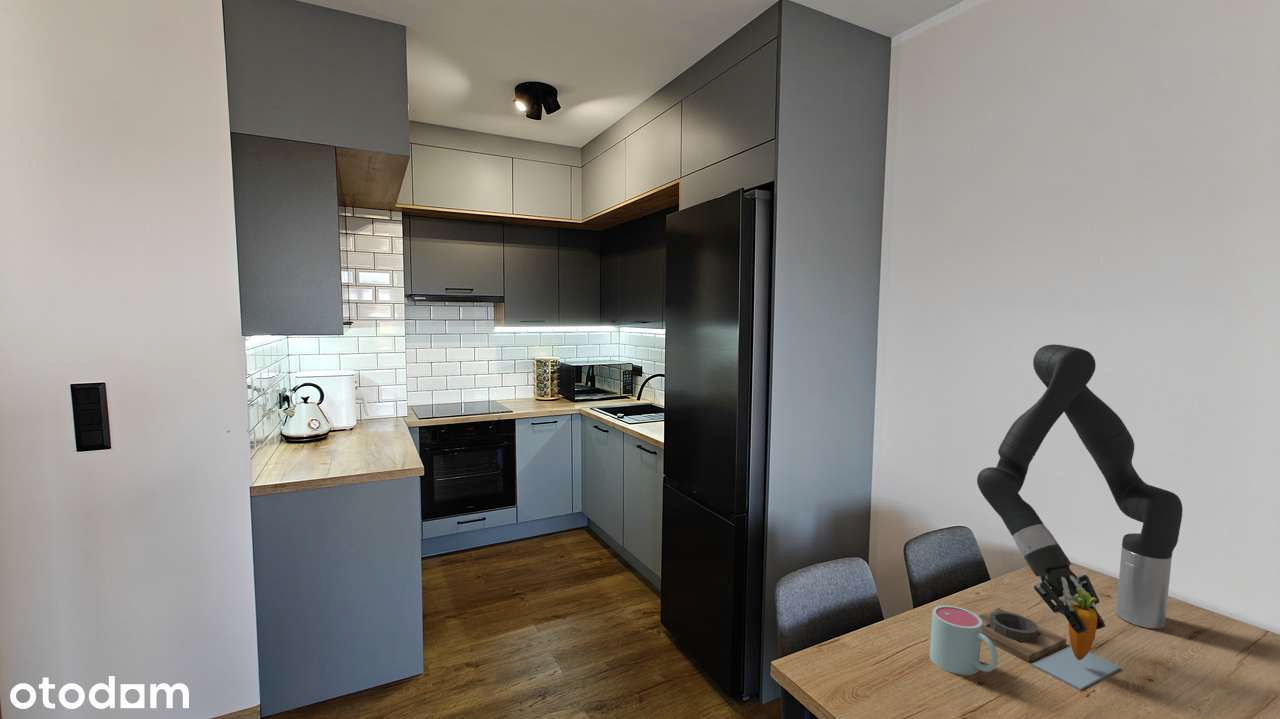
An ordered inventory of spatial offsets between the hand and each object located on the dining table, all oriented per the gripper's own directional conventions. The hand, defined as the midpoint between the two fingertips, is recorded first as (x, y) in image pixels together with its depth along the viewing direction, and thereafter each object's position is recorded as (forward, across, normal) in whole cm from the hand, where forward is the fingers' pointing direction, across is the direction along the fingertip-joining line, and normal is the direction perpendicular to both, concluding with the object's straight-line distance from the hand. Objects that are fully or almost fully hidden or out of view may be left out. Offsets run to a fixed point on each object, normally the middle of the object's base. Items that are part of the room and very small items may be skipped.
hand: (1091, 629), depth 120 cm
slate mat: (+5, 0, +8) cm, 10 cm away
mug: (+1, -24, +13) cm, 27 cm away
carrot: (+4, 0, +7) cm, 8 cm away
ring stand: (-4, -2, +17) cm, 18 cm away
